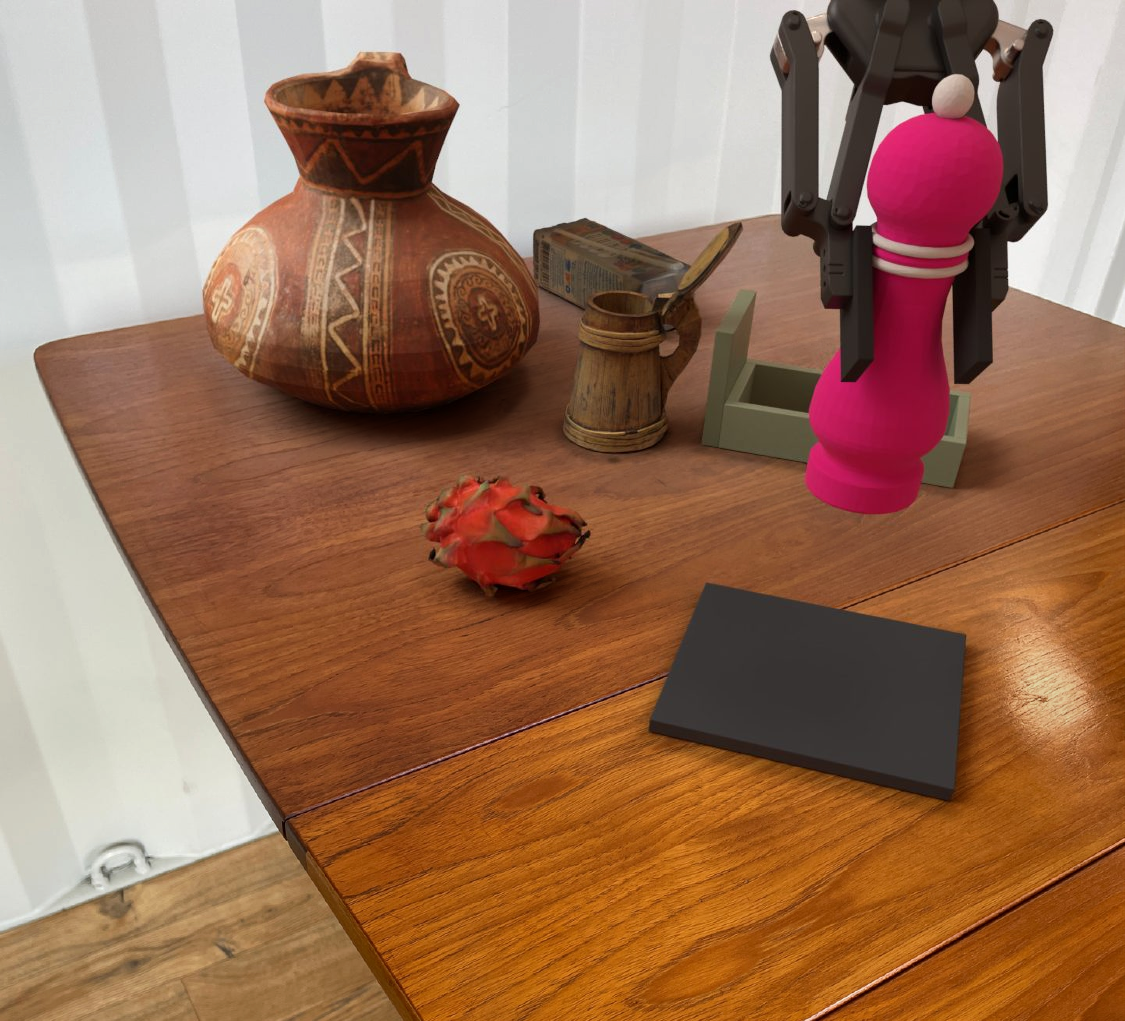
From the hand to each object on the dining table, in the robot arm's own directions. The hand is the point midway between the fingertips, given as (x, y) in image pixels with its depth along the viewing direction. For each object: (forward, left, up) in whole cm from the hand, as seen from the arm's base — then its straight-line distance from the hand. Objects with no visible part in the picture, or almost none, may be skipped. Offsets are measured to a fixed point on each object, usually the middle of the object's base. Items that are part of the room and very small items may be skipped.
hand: (915, 371), depth 52 cm
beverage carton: (+32, -63, -22) cm, 74 cm away
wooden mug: (+21, -34, -22) cm, 46 cm away
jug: (+47, -36, -22) cm, 64 cm away
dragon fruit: (+24, -8, -22) cm, 34 cm away
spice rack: (+5, -39, -22) cm, 45 cm away
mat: (+1, -3, -22) cm, 23 cm away
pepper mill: (+1, -4, -8) cm, 9 cm away
